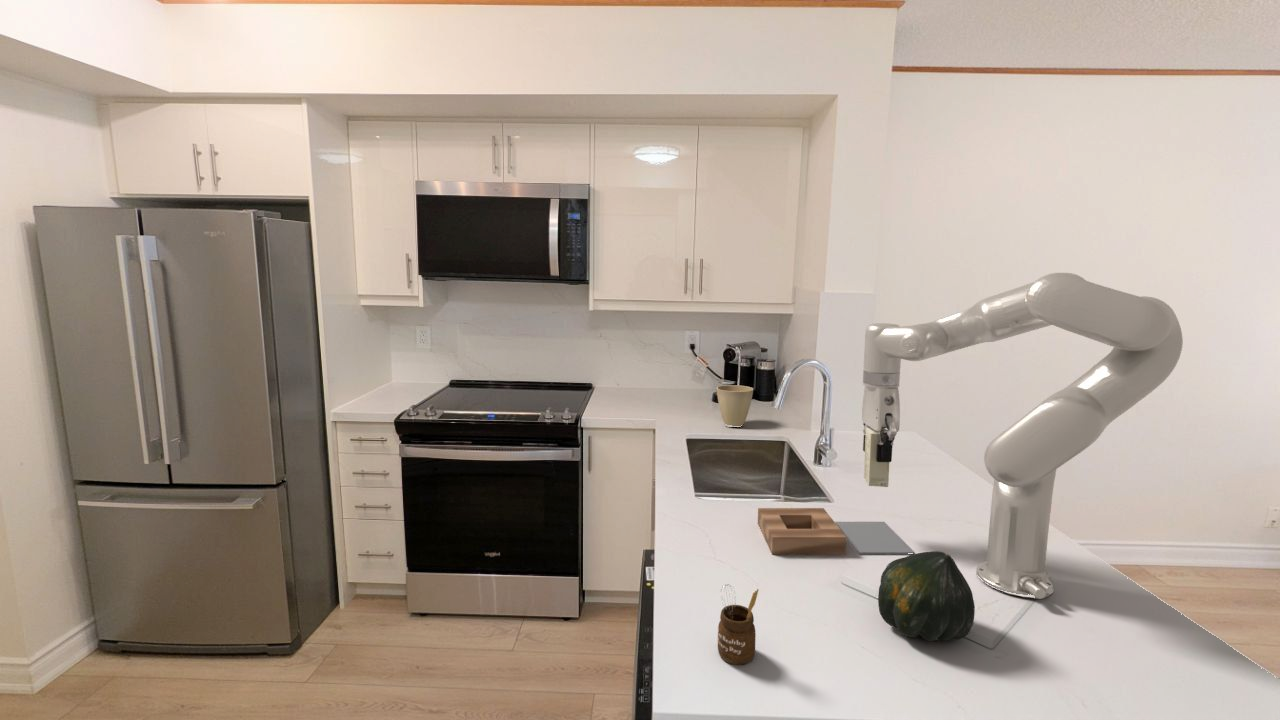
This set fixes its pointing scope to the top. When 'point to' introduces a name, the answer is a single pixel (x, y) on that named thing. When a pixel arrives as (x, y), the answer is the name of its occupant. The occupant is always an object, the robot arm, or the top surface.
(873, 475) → the skincare box
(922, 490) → the top surface
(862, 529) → the slate mat
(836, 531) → the pocket block
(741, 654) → the utensil holder
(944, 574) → the squash
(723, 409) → the plant pot
